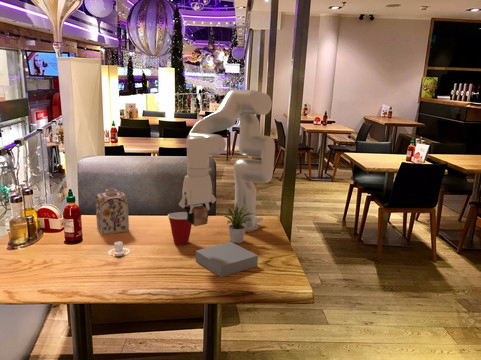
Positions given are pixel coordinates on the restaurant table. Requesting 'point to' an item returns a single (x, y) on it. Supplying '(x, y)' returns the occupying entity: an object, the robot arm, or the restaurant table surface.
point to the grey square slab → (226, 259)
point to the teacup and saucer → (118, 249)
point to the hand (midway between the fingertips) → (197, 221)
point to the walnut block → (199, 215)
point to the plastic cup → (180, 227)
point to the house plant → (237, 223)
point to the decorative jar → (112, 212)
